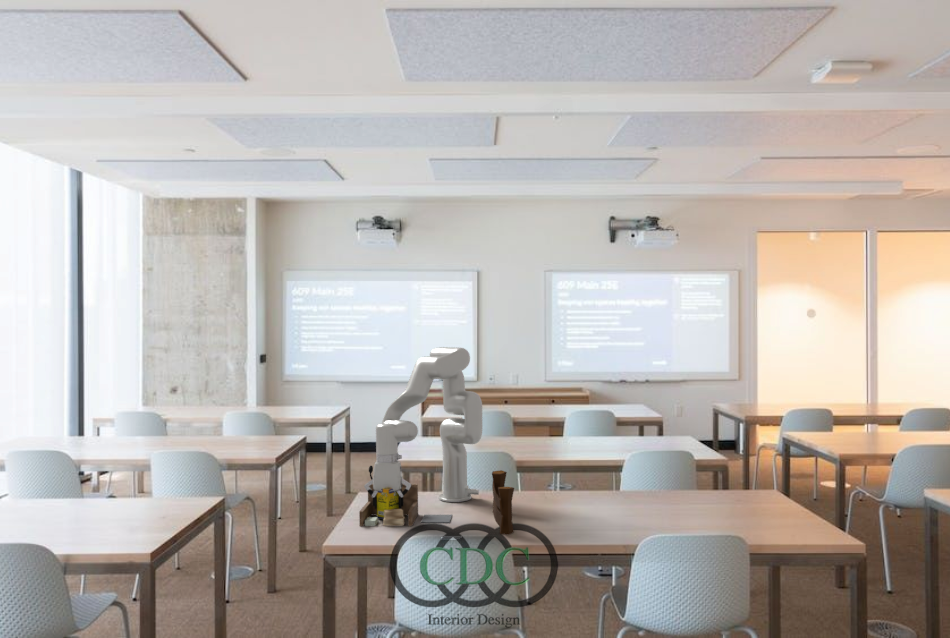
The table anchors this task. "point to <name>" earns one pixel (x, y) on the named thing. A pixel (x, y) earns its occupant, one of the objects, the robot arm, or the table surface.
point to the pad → (436, 519)
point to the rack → (408, 508)
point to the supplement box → (386, 501)
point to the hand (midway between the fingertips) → (388, 507)
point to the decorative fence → (502, 502)
